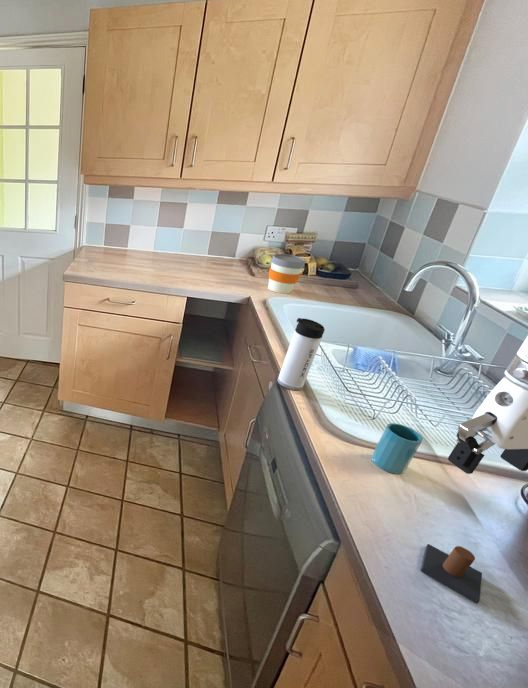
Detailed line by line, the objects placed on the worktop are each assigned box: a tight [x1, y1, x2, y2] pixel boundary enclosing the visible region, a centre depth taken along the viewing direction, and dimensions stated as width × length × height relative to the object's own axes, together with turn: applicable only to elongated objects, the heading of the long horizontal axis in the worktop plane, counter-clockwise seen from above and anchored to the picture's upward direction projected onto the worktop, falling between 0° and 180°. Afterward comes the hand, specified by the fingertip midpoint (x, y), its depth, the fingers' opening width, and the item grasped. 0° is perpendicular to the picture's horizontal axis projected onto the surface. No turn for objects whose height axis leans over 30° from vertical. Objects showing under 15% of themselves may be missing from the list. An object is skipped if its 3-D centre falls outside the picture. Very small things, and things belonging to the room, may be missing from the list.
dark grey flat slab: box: [420, 543, 483, 604], centre depth 68 cm, size 7×7×5 cm
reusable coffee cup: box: [267, 253, 306, 294], centre depth 183 cm, size 13×13×15 cm
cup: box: [370, 422, 423, 475], centre depth 90 cm, size 6×6×9 cm
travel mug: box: [277, 317, 325, 391], centre depth 115 cm, size 6×7×20 cm
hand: (485, 465), depth 66 cm, fingers open, 9 cm apart
